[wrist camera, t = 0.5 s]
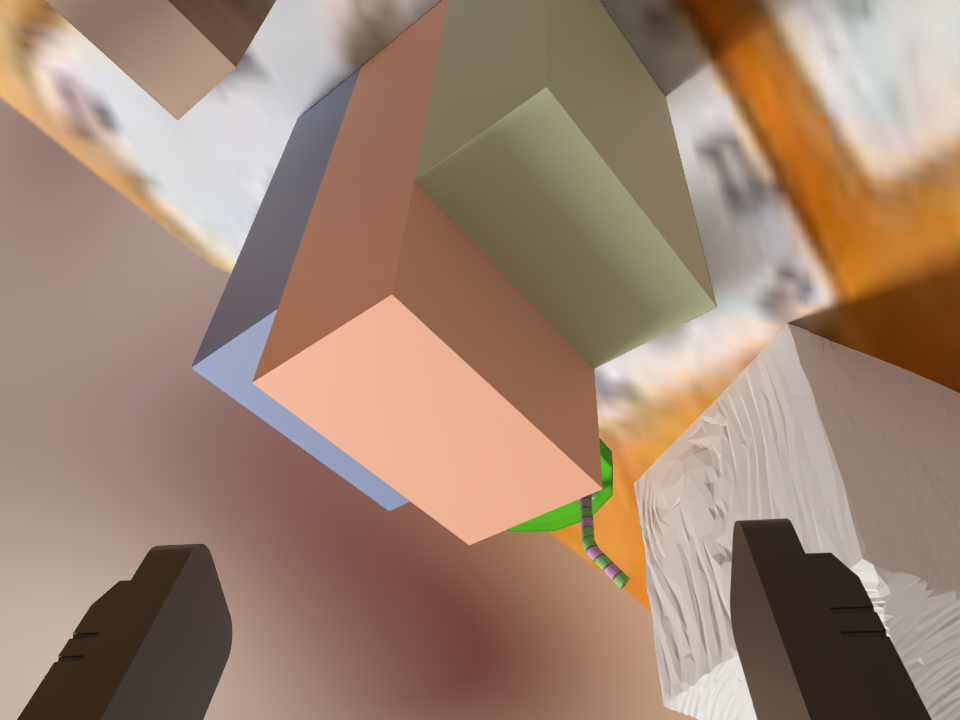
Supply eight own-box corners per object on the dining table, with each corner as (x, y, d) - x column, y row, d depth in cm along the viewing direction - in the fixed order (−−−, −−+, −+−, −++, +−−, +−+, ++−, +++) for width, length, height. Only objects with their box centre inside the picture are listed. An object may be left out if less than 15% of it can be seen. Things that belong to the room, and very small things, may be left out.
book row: (297, 119, 37) (159, 441, 24) (542, -83, 31) (548, 194, 17) (429, 250, 42) (378, 583, 28) (665, 97, 36) (746, 428, 22)
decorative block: (782, 319, 44) (902, 685, 30) (1013, 410, 48) (1218, 774, 34) (628, 487, 55) (662, 819, 40) (828, 551, 58) (925, 875, 44)
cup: (429, 334, 46) (396, 572, 35) (528, 250, 42) (526, 491, 31) (530, 403, 49) (529, 639, 39) (632, 332, 45) (663, 575, 34)
